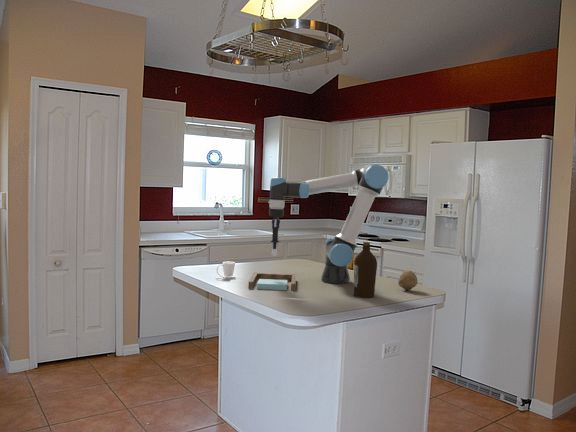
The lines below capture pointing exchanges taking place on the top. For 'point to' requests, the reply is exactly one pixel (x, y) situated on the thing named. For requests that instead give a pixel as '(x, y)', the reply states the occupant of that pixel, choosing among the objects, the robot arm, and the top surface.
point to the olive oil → (365, 273)
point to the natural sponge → (407, 280)
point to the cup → (227, 269)
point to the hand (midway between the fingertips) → (274, 255)
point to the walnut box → (289, 277)
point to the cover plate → (272, 284)
